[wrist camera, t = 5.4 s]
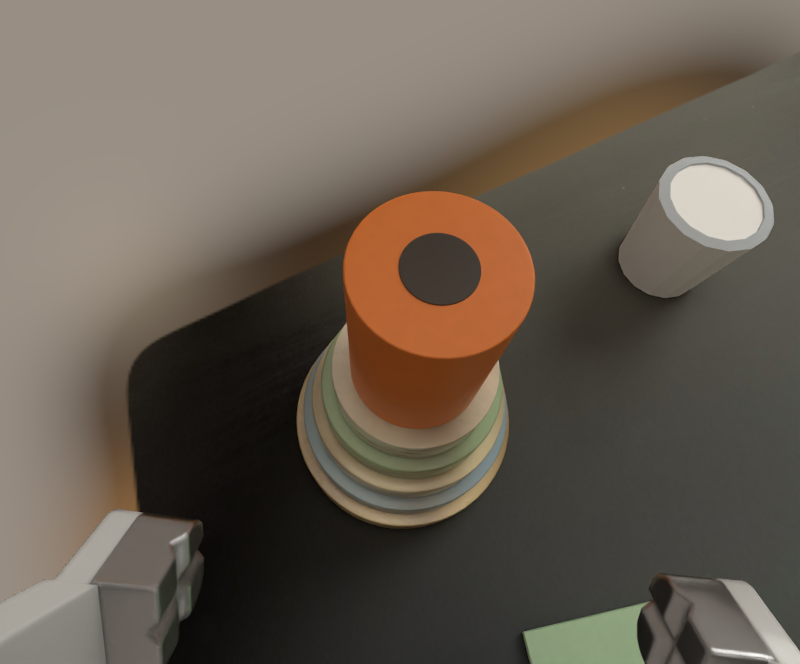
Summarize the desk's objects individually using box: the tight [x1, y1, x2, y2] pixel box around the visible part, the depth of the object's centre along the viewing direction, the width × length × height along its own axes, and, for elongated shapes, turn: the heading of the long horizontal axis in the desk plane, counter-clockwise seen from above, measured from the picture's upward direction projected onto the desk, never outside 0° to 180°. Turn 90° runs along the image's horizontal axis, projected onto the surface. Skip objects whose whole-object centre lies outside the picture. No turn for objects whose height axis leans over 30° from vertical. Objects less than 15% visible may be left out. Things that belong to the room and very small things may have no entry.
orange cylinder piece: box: [343, 191, 535, 429], centre depth 19 cm, size 6×6×8 cm
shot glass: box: [618, 156, 774, 298], centre depth 34 cm, size 7×7×7 cm
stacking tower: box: [297, 322, 509, 529], centre depth 27 cm, size 12×12×10 cm
